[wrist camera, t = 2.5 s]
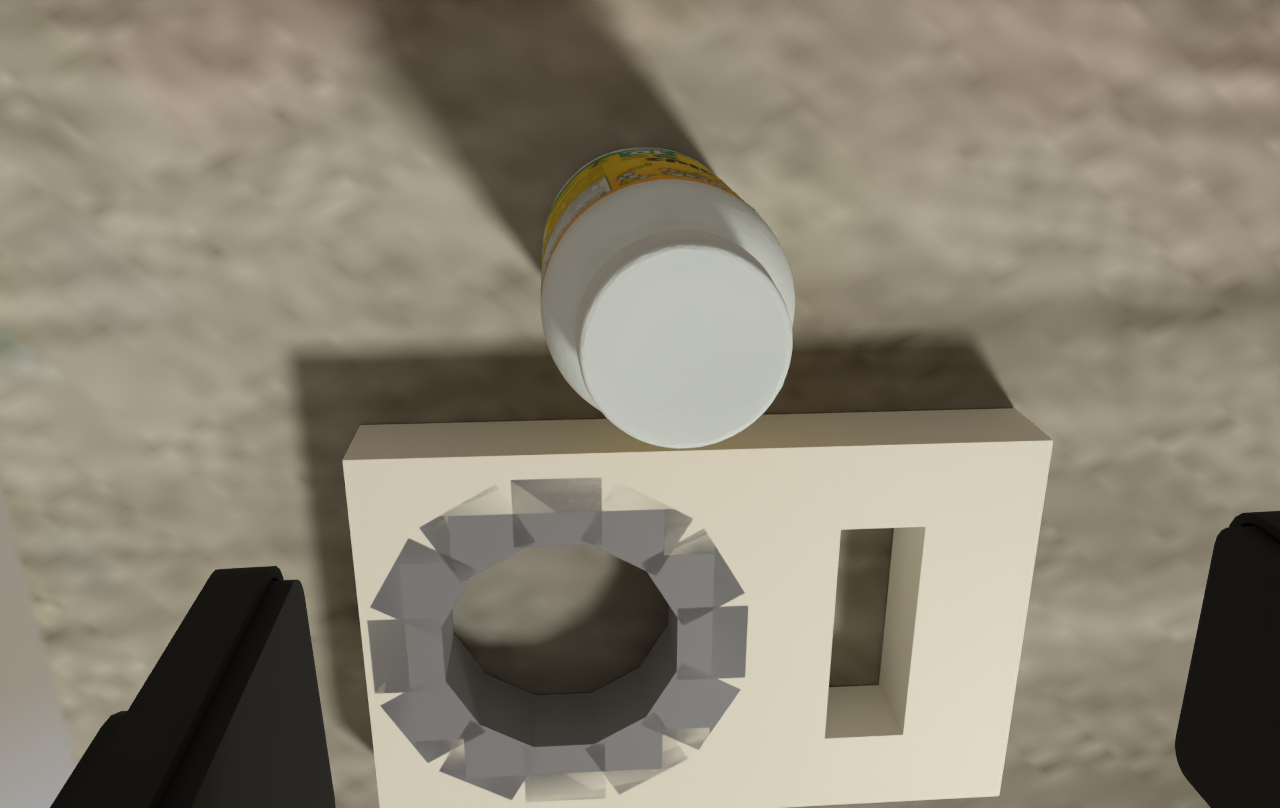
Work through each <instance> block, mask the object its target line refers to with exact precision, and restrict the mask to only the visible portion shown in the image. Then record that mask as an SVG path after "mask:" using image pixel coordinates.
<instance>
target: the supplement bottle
mask: <svg viewBox="0 0 1280 808" xmlns="http://www.w3.org/2000/svg"><path fill="white" fill-rule="evenodd" d="M794 311H795V293H794V284H793V279H792V273H791V270H790V266H789V263H788V260H787V258H786V255H785V253H784V250H783V249H782V247H781V245H780V243H779V241H778V239H777V238H776V236H775V235H774V233H773V232H772V231H771V229H770V228H769V226H768V225H767V224H766V222H765V221H764V220H763V219H762V218H761V217H760V215H759V214H758V213H757V212H756V211H755V210H754V209H753V208H752V207H751V206H749V205H748V204H747V203H746V202H744V201H743V200H742V199H741V198H740V197H739V196H738V195H737V194H736V193H735V192H733V191H732V190H731V189H730V188H729V187H728V186H727V185H726V184H725V183H724V182H723V181H722V180H720V179H719V178H718V177H717V176H716V175H715V174H714V173H713V172H712V171H711V170H709V169H708V168H706V167H705V166H704V165H702V164H701V163H699V162H698V161H696V160H694V159H693V158H691V157H688V156H686V155H684V154H682V153H679V152H676V151H672V150H668V149H662V148H628V149H621V150H616V151H613V152H610V153H607V154H604V155H601V156H599V157H597V158H596V159H594V160H592V161H590V162H589V163H587V164H586V165H584V166H583V167H582V168H580V169H579V170H578V171H577V172H576V173H575V174H574V175H573V176H572V177H571V178H570V179H569V180H568V181H567V182H566V184H565V185H564V186H563V187H562V189H561V190H560V192H559V193H558V195H557V197H556V199H555V200H554V202H553V204H552V207H551V209H550V212H549V214H548V217H547V221H546V225H545V229H544V234H543V243H542V277H541V318H542V324H543V330H544V335H545V339H546V342H547V345H548V348H549V351H550V353H551V356H552V358H553V360H554V362H555V364H556V366H557V367H558V369H559V371H560V372H561V374H562V375H563V377H564V378H565V379H566V381H567V382H568V383H569V385H570V386H571V387H572V388H573V389H574V390H575V391H576V392H577V393H578V394H579V395H580V396H581V397H582V398H583V399H584V400H586V401H587V402H588V403H589V404H591V405H592V406H594V407H595V408H597V409H598V410H600V411H601V412H602V413H603V414H604V416H605V417H606V418H607V419H608V420H609V421H610V422H611V423H613V424H614V425H615V426H617V427H618V428H619V429H621V430H622V431H624V432H625V433H627V434H628V435H630V436H632V437H634V438H636V439H638V440H640V441H643V442H646V443H648V444H652V445H656V446H661V447H668V448H695V447H702V446H706V445H710V444H714V443H718V442H720V441H723V440H725V439H727V438H729V437H732V436H734V435H735V434H737V433H739V432H741V431H742V430H744V429H745V428H747V427H748V426H749V425H751V424H752V423H754V422H755V421H756V420H757V419H758V418H759V417H760V416H761V415H762V414H763V413H764V412H765V411H766V410H767V408H768V407H769V406H770V405H771V403H772V402H773V401H774V399H775V397H776V396H777V394H778V393H779V391H780V389H781V388H782V386H783V383H784V380H785V378H786V375H787V372H788V369H789V365H790V361H791V355H792V349H793V342H792V325H793V319H794Z"/></svg>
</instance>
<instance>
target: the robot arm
mask: <svg viewBox="0 0 1280 808" xmlns="http://www.w3.org/2000/svg"><path fill="white" fill-rule="evenodd" d="M1175 751H1176V757H1177V761H1178V764H1179V766H1180V769H1181V771H1182V773H1183V774H1184V776H1185V777H1186V779H1187V780H1188V781H1189V783H1190V784H1191V785H1192V786H1193V787H1194V788H1195V790H1196V791H1197V792H1198V793H1199V794H1200V795H1201V797H1202V798H1203V799H1204V800H1205V801H1206V803H1207V804H1208V805H1209V806H1210V807H1211V808H1280V511H1270V512H1252V513H1242V514H1240V515H1238V516H1237V517H1235V518H1234V520H1233V521H1232V522H1231V524H1230V526H1229V528H1225V529H1223V530H1222V531H1221V532H1220V533H1219V534H1218V536H1217V538H1216V541H1215V545H1214V550H1213V555H1212V560H1211V565H1210V570H1209V575H1208V579H1207V584H1206V589H1205V594H1204V599H1203V604H1202V609H1201V614H1200V619H1199V624H1198V629H1197V634H1196V639H1195V644H1194V649H1193V654H1192V659H1191V664H1190V669H1189V674H1188V679H1187V684H1186V689H1185V694H1184V699H1183V704H1182V709H1181V714H1180V719H1179V724H1178V729H1177V734H1176V740H1175ZM50 808H335V798H334V791H333V784H332V777H331V771H330V764H329V757H328V751H327V744H326V737H325V730H324V724H323V717H322V710H321V703H320V697H319V690H318V683H317V676H316V670H315V663H314V656H313V650H312V643H311V636H310V629H309V623H308V616H307V609H306V602H305V596H304V591H303V587H302V584H301V582H300V581H299V580H284V579H283V576H282V573H281V571H280V569H279V568H278V567H277V566H269V567H250V568H232V569H217V570H215V571H214V572H213V573H212V574H211V576H210V577H209V579H208V580H207V582H206V584H205V585H204V587H203V589H202V590H201V592H200V593H199V595H198V597H197V598H196V600H195V602H194V603H193V605H192V607H191V608H190V610H189V611H188V613H187V615H186V616H185V618H184V620H183V621H182V623H181V625H180V626H179V628H178V629H177V631H176V633H175V634H174V636H173V638H172V639H171V641H170V643H169V644H168V646H167V647H166V649H165V651H164V652H163V654H162V656H161V657H160V659H159V660H158V662H157V664H156V665H155V667H154V669H153V670H152V672H151V674H150V675H149V677H148V678H147V680H146V682H145V683H144V685H143V687H142V688H141V690H140V692H139V693H138V695H137V696H136V698H135V700H134V701H133V703H132V705H131V706H130V708H129V710H128V711H121V712H118V713H116V714H113V715H111V716H110V717H109V719H108V720H107V721H106V722H105V723H104V724H103V726H102V727H101V728H100V730H99V731H98V733H97V735H96V736H95V738H94V739H93V741H92V742H91V744H90V746H89V747H88V749H87V750H86V752H85V753H84V755H83V757H82V758H81V760H80V761H79V763H78V764H77V766H76V768H75V769H74V771H73V772H72V774H71V775H70V777H69V779H68V780H67V782H66V783H65V785H64V786H63V788H62V790H61V791H60V793H59V794H58V796H57V797H56V799H55V801H54V802H53V804H52V805H51V807H50Z"/></svg>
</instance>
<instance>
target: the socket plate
mask: <svg viewBox="0 0 1280 808" xmlns="http://www.w3.org/2000/svg"><path fill="white" fill-rule="evenodd" d="M1052 445H1053V440H1052V439H1051V438H1050V437H1049V436H1047V435H1046V434H1045V433H1044V432H1043V431H1041V430H1040V429H1039V428H1038V427H1037V426H1035V425H1034V424H1033V423H1032V422H1031V421H1029V420H1028V419H1027V418H1026V417H1025V416H1023V415H1022V414H1021V413H1020V412H1019V411H1017V410H1016V409H1015V408H1008V409H969V410H930V411H891V412H852V413H813V414H775V415H761V416H760V417H759V418H758V419H757V420H756V421H755V422H754V423H752V424H751V425H749V426H748V427H747V428H745V429H744V430H742V431H741V432H739V433H737V434H735V435H734V436H732V437H729V438H727V439H725V440H723V441H720V442H718V443H714V444H710V445H706V446H702V447H695V448H668V447H661V446H656V445H652V444H648V443H646V442H643V441H640V440H638V439H636V438H634V437H632V436H630V435H628V434H627V433H625V432H624V431H622V430H621V429H619V428H618V427H617V426H615V425H614V424H613V423H611V422H610V421H609V420H608V419H581V420H542V421H503V422H464V423H425V424H387V425H360V426H359V428H358V430H357V432H356V434H355V436H354V438H353V440H352V442H351V444H350V446H349V448H348V450H347V452H346V454H345V456H344V458H343V460H342V461H343V470H344V479H345V489H346V498H347V507H348V516H349V526H350V535H351V544H352V554H353V563H354V572H355V581H356V591H357V600H358V609H359V619H360V628H361V637H362V646H363V656H364V665H365V674H366V683H367V693H368V702H369V711H370V721H371V730H372V739H373V748H374V758H375V767H376V776H377V785H378V795H379V804H380V808H782V807H801V806H820V805H839V804H857V803H876V802H895V801H914V800H933V799H951V798H970V797H989V796H999V794H1000V788H1001V781H1002V774H1003V768H1004V761H1005V755H1006V748H1007V741H1008V735H1009V728H1010V722H1011V715H1012V709H1013V702H1014V695H1015V689H1016V682H1017V676H1018V669H1019V662H1020V656H1021V649H1022V643H1023V636H1024V629H1025V623H1026V616H1027V610H1028V603H1029V597H1030V590H1031V583H1032V577H1033V570H1034V564H1035V557H1036V550H1037V544H1038V537H1039V531H1040V524H1041V518H1042V511H1043V504H1044V498H1045V491H1046V485H1047V478H1048V471H1049V465H1050V458H1051V452H1052ZM876 528H894V533H893V543H892V554H891V564H890V574H889V585H888V595H887V605H886V616H885V626H884V636H883V647H882V657H881V667H880V678H879V685H868V686H846V687H829V677H830V664H831V651H832V638H833V625H834V612H835V599H836V586H837V573H838V560H839V547H840V534H841V530H846V529H876ZM569 545H592V546H594V547H597V548H599V549H601V550H603V551H605V552H607V553H609V554H611V555H613V556H615V557H618V558H620V559H622V560H624V561H626V562H628V563H630V564H632V565H634V566H637V567H639V568H641V569H643V570H645V571H647V573H648V574H649V576H650V577H651V579H652V580H653V582H654V583H655V585H656V586H657V588H658V589H659V591H660V592H661V594H662V595H663V597H664V598H665V600H666V601H667V603H668V625H667V626H666V628H665V629H664V631H663V632H662V634H661V635H660V637H659V638H658V640H657V641H656V643H655V645H654V646H653V648H652V649H651V651H650V652H649V654H648V655H647V657H646V658H645V660H644V661H643V663H642V664H641V666H640V667H639V668H637V669H635V670H633V671H631V672H629V673H627V674H626V675H624V676H622V677H620V678H618V679H616V680H614V681H612V682H611V683H609V684H607V685H605V686H603V687H601V688H599V689H597V690H596V691H594V692H592V693H573V694H550V695H534V694H532V693H529V692H527V691H525V690H523V689H520V688H518V687H516V686H513V685H511V684H509V683H506V682H504V681H502V680H499V679H497V678H495V677H492V676H490V675H488V674H485V672H484V671H483V670H482V668H481V667H480V666H479V665H478V663H477V662H476V661H475V659H474V658H473V657H472V655H471V654H470V653H469V652H468V650H467V649H466V648H465V646H464V645H463V644H462V642H461V641H460V640H459V639H458V637H457V636H456V635H455V633H454V628H453V614H452V608H453V607H454V605H455V603H456V601H457V600H458V598H459V596H460V595H461V593H462V591H463V589H464V588H465V586H466V584H467V583H468V581H469V579H470V578H471V577H473V576H474V575H476V574H478V573H480V572H482V571H483V570H485V569H487V568H489V567H491V566H492V565H494V564H496V563H498V562H499V561H501V560H503V559H505V558H507V557H508V556H510V555H512V554H514V553H516V552H517V551H519V550H521V549H523V548H525V547H540V546H569Z"/></svg>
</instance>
